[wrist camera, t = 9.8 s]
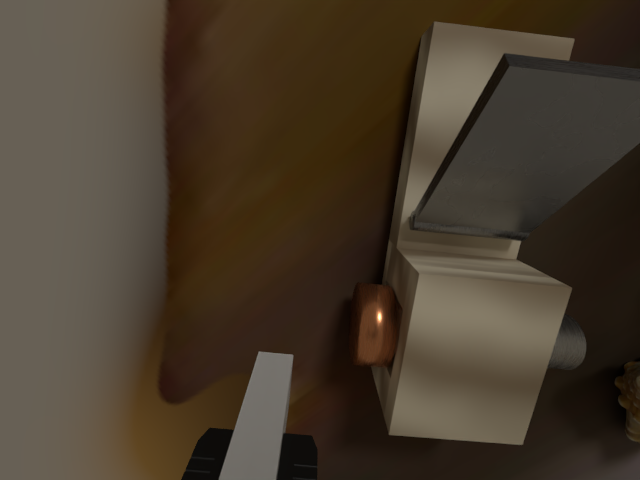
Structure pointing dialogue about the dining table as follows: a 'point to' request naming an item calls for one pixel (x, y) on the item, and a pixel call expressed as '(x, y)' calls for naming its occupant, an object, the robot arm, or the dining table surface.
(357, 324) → the pin
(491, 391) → the block
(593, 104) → the latch flap
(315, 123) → the dining table surface
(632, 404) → the seashell
